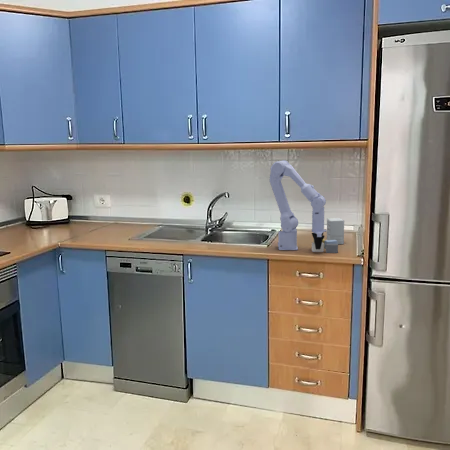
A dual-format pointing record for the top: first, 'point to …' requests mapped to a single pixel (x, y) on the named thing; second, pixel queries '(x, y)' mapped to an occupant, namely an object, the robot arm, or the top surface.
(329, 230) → the supplement box
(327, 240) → the blue brick
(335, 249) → the charcoal brick
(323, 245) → the light grey brick
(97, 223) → the top surface
